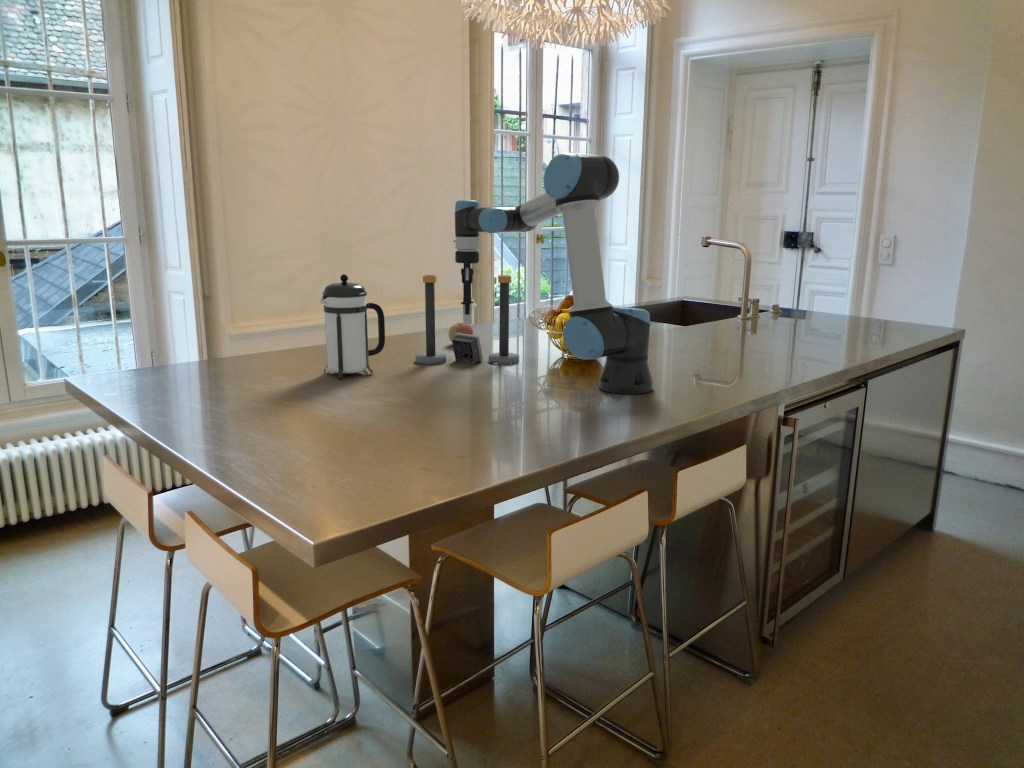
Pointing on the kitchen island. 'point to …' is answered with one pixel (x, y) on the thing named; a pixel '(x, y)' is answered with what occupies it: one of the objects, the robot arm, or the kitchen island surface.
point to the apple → (460, 330)
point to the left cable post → (430, 326)
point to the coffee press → (349, 328)
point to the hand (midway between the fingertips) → (467, 324)
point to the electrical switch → (467, 347)
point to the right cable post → (504, 325)
